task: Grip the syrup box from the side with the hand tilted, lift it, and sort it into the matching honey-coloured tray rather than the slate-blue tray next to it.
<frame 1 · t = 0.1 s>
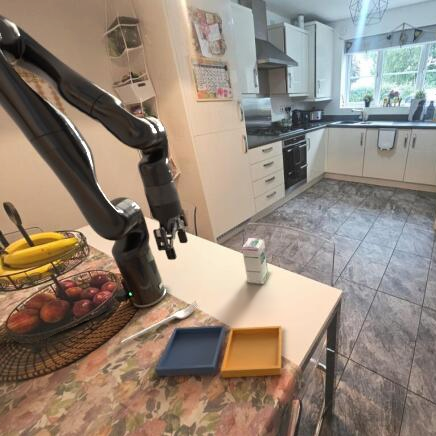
hand: (178, 250, 71), 17 cm above the table, tool pointing down, fingers open, 8 cm apart
fork: (163, 324, 69), on the table
blue tray: (194, 352, 61), on the table
honey tray: (254, 352, 60), on the table
syrup box: (258, 278, 85), on the table
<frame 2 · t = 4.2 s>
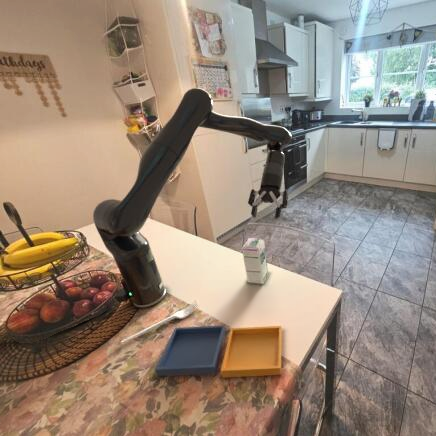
hand: (264, 217, 87), 18 cm above the table, tool tilted 45°, fingers open, 8 cm apart
nothing on the table moved.
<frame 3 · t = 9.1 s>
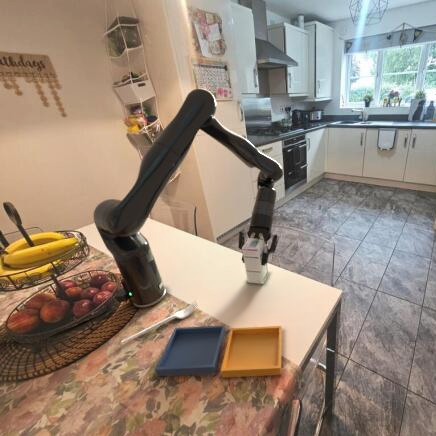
hand: (253, 264, 80), 7 cm above the table, tool tilted 45°, fingers closed on syrup box, 6 cm apart
syrup box: (258, 278, 85), on the table, touching gripper
everything else where it was.
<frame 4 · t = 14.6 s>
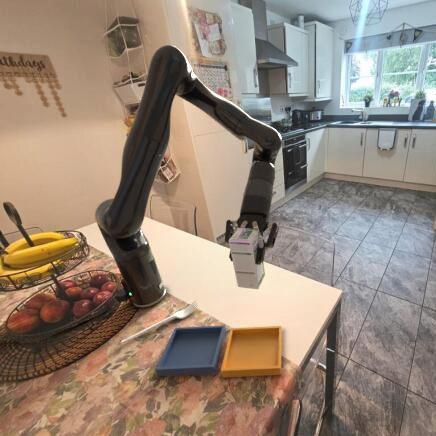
hand: (245, 262, 59), 20 cm above the table, tool tilted 45°, fingers closed on syrup box, 6 cm apart
syrup box: (251, 281, 64), point 13 cm above the table, touching gripper
everything else where it was.
when the fingers open (8 cm above the table, at t = 20.0 s): syrup box stays where it is, resting on honey tray.
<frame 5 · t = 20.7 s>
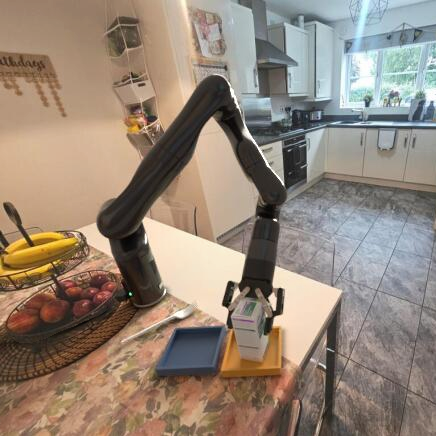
hand: (247, 331, 55), 9 cm above the table, tool tilted 45°, fingers open, 8 cm apart
syrup box: (255, 351, 60), resting on honey tray
everything else where it was.
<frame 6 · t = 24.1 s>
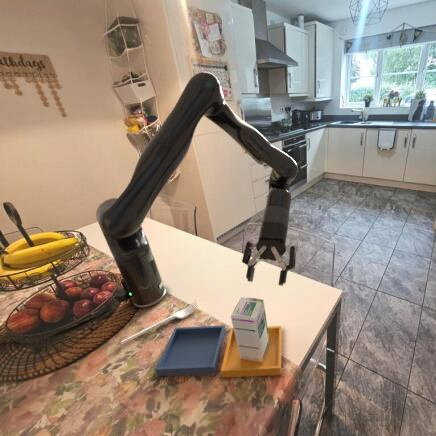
hand: (264, 283, 64), 12 cm above the table, tool tilted 45°, fingers open, 8 cm apart
nothing on the table moved.
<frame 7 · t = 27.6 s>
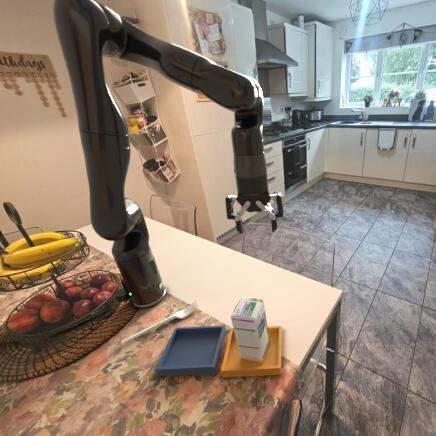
hand: (257, 231, 65), 24 cm above the table, tool pointing down, fingers open, 8 cm apart
nothing on the table moved.
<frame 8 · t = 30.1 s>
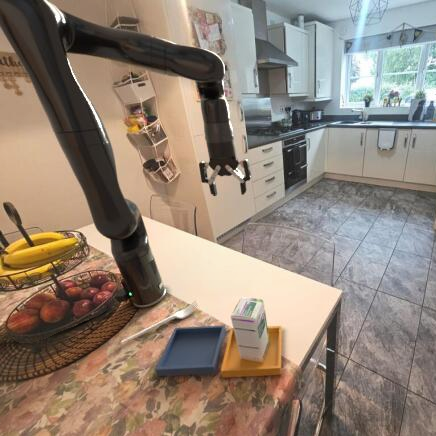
hand: (229, 194, 74), 30 cm above the table, tool pointing down, fingers open, 8 cm apart
nothing on the table moved.
at the end: syrup box inside the target area in the honey tray (0.3 cm from its centre), point 0.4 cm above the honey tray's base; syrup box tilted 0° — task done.
